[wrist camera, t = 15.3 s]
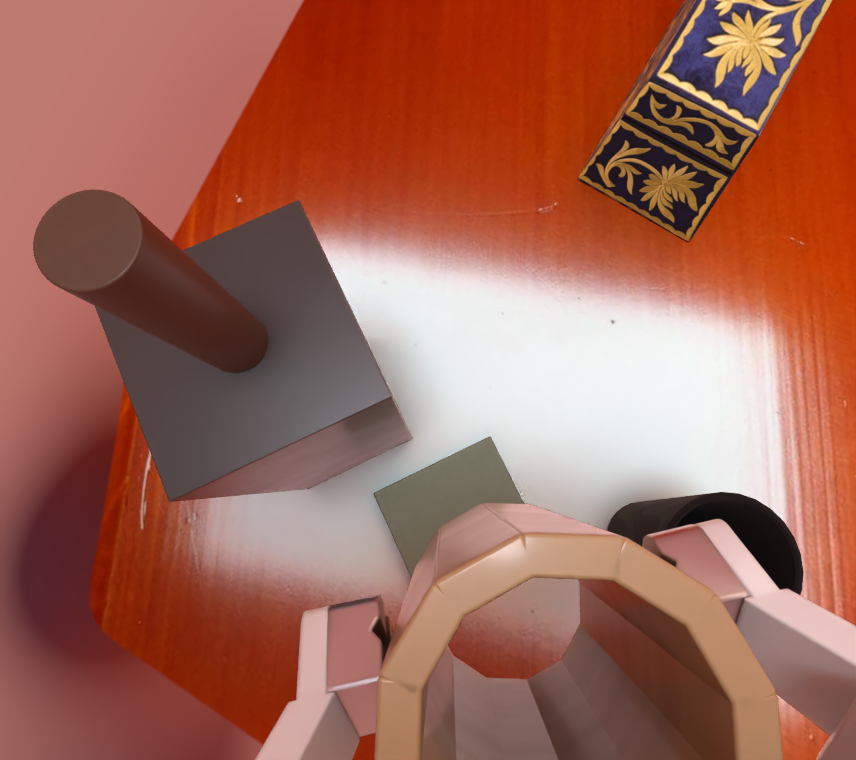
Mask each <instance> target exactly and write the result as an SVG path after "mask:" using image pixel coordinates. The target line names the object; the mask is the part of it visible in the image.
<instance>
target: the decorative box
mask: <svg viewBox="0 0 856 760" xmlns="http://www.w3.org/2000/svg"><path fill="white" fill-rule="evenodd" d="M831 2H832V0H684V2H683V4H682V5H681V7H680V9H679V10H678V12H677V14H676V15H675V17H674V19H673V20H672V22H671V24H670V25H669V27H668V29H667V30H666V32H665V34H664V35H663V37H662V39H661V40H660V42H659V44H658V45H657V47H656V49H655V50H654V52H653V54H652V55H651V57H650V59H649V60H648V62H647V64H646V65H645V67H644V69H643V70H642V72H641V74H640V75H639V77H638V79H637V80H636V82H635V84H634V85H633V87H632V89H631V90H630V92H629V94H628V95H627V97H626V99H625V100H624V102H623V104H622V105H621V107H620V109H619V110H618V112H617V114H616V115H615V117H614V119H613V120H612V122H611V124H610V125H609V127H608V129H607V130H606V132H605V134H604V135H603V137H602V139H601V140H600V142H599V144H598V145H597V147H596V149H595V150H594V152H593V154H592V155H591V157H590V159H589V160H588V162H587V164H586V165H585V167H584V169H583V170H582V172H581V174H580V175H579V177H578V179H579V180H580V181H582V182H584V183H586V184H587V185H589V186H591V187H593V188H594V189H596V190H598V191H600V192H601V193H603V194H605V195H607V196H609V197H610V198H612V199H614V200H616V201H617V202H619V203H621V204H623V205H624V206H626V207H628V208H630V209H631V210H633V211H635V212H637V213H638V214H640V215H642V216H644V217H645V218H647V219H649V220H651V221H652V222H654V223H656V224H658V225H660V226H661V227H663V228H665V229H667V230H668V231H670V232H672V233H674V234H675V235H677V236H679V237H681V238H682V239H684V240H686V241H688V242H689V241H690V240H691V238H692V237H693V235H694V234H695V232H696V231H697V229H698V228H699V226H700V225H701V223H702V222H703V220H704V219H705V217H706V216H707V214H708V213H709V211H710V210H711V208H712V207H713V205H714V204H715V202H716V200H717V199H718V197H719V196H720V194H721V193H722V191H723V190H724V188H725V187H726V185H727V184H728V182H729V181H730V179H731V178H732V176H733V175H734V173H735V172H736V170H737V169H738V167H739V166H740V164H741V163H742V161H743V159H744V158H745V156H746V155H747V153H748V152H749V150H750V149H751V147H752V146H753V144H754V143H755V141H756V140H757V138H758V137H759V135H760V133H761V131H762V130H763V128H764V126H765V124H766V122H767V120H768V118H769V117H770V115H771V113H772V111H773V109H774V107H775V106H776V104H777V102H778V100H779V98H780V96H781V94H782V93H783V91H784V89H785V87H786V85H787V83H788V81H789V80H790V78H791V76H792V74H793V72H794V70H795V69H796V67H797V65H798V63H799V61H800V59H801V57H802V56H803V54H804V52H805V50H806V48H807V46H808V44H809V43H810V41H811V39H812V37H813V35H814V33H815V32H816V30H817V28H818V26H819V24H820V22H821V20H822V19H823V17H824V15H825V13H826V11H827V9H828V7H829V6H830V4H831Z"/></svg>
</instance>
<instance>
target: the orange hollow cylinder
mask: <svg viewBox="0 0 856 760" xmlns="http://www.w3.org/2000/svg"><path fill="white" fill-rule="evenodd" d="M531 578H556V579H578V580H579V582H580V625H579V627H578V629H577V631H576V633H575V634H574V636H573V638H572V640H571V642H570V644H569V646H568V647H567V649H566V651H565V653H564V655H563V657H562V659H561V660H559V661H558V662H556V663H554V664H552V665H551V666H549V667H547V668H546V669H544V670H542V671H540V672H539V673H537V674H535V675H533V676H532V677H530V678H528V679H509V678H486V677H485V676H483V675H482V674H480V673H479V672H477V671H476V670H474V669H473V668H471V667H470V666H468V665H467V664H465V663H464V662H462V661H461V660H459V659H458V658H456V657H455V656H453V655H452V653H451V651H450V649H449V647H448V644H449V642H450V641H451V639H452V637H453V635H454V634H455V632H456V630H457V628H458V627H459V625H460V623H461V621H462V620H463V618H464V617H465V616H466V615H468V614H470V613H472V612H473V611H475V610H477V609H479V608H480V607H482V606H484V605H486V604H487V603H489V602H491V601H493V600H494V599H496V598H498V597H500V596H502V595H503V594H505V593H507V592H509V591H510V590H512V589H514V588H516V587H517V586H519V585H521V584H523V583H524V582H526V581H528V580H530V579H531ZM775 693H776V692H775V689H774V686H773V685H772V683H771V682H770V680H769V678H768V677H767V675H766V673H765V672H764V670H763V668H762V667H761V665H760V663H759V662H758V660H757V659H756V657H755V655H754V654H753V652H752V650H751V649H750V647H749V645H748V644H747V642H746V641H745V639H744V637H743V636H742V634H741V632H740V631H739V629H738V627H737V626H736V624H735V622H734V621H733V619H732V618H731V616H730V614H729V613H728V611H727V609H726V608H725V606H724V604H723V603H722V601H721V600H720V598H719V596H717V595H716V594H714V592H713V591H712V590H711V589H710V588H709V587H707V586H705V585H704V584H702V583H700V582H699V581H697V580H696V579H694V578H692V577H691V576H689V575H687V574H686V573H684V572H682V571H681V570H679V569H678V568H676V567H674V566H673V565H671V564H669V563H668V562H666V561H664V560H663V559H661V558H660V557H658V556H656V555H655V554H653V553H651V552H650V551H648V550H646V549H645V548H643V547H641V546H640V545H638V544H637V543H635V542H633V541H632V540H630V539H628V538H626V537H623V536H620V535H617V534H615V533H612V532H609V531H606V530H603V529H600V528H597V527H594V526H591V525H589V524H586V523H583V522H580V521H577V520H574V519H571V518H568V517H565V516H563V515H560V514H557V513H554V512H551V511H548V510H545V509H542V508H539V507H537V506H534V505H530V504H509V503H483V504H479V505H477V506H476V507H474V508H472V509H470V510H468V511H467V512H465V513H463V514H461V515H459V516H458V517H456V518H454V519H452V520H450V521H449V522H447V523H445V524H443V525H442V526H441V527H440V528H439V529H438V530H437V532H436V533H435V535H434V537H433V538H432V540H431V542H430V543H429V545H428V547H427V548H426V550H425V552H424V554H423V555H422V557H421V559H420V560H419V562H418V564H417V565H416V567H415V569H414V572H413V575H412V578H411V581H410V584H409V587H408V590H407V593H406V596H405V599H404V602H403V605H402V608H401V611H400V614H399V617H398V620H397V623H396V626H395V629H394V632H393V635H392V638H391V641H390V644H389V647H388V650H387V653H386V656H385V659H384V662H383V665H382V668H381V672H380V675H379V678H378V686H377V709H376V733H375V757H374V760H783V754H782V741H781V729H780V717H779V704H778V698H777V696H776V694H775Z"/></svg>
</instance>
